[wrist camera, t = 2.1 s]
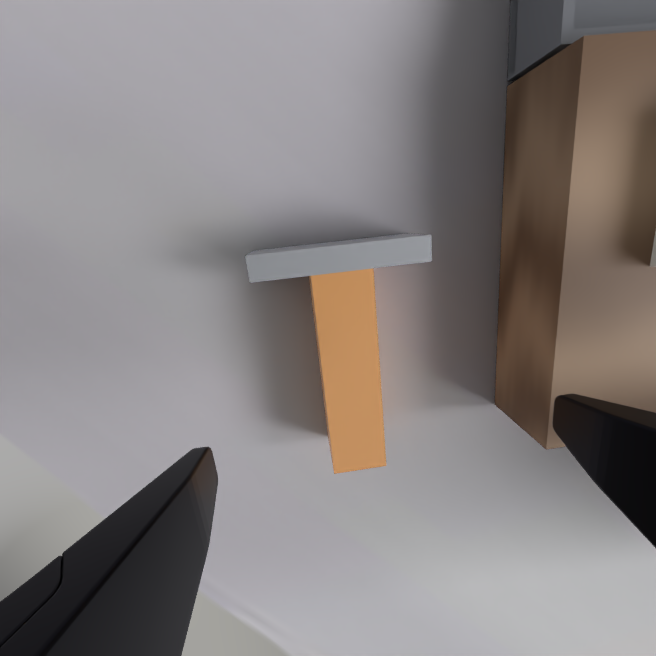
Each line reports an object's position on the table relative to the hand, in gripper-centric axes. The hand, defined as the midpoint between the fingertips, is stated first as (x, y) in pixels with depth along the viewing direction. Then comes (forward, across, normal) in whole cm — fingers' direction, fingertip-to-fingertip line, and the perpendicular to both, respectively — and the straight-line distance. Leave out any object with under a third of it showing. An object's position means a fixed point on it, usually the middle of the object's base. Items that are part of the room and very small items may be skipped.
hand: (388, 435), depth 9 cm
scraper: (+8, 0, 0) cm, 9 cm away
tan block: (+8, -14, -2) cm, 16 cm away
